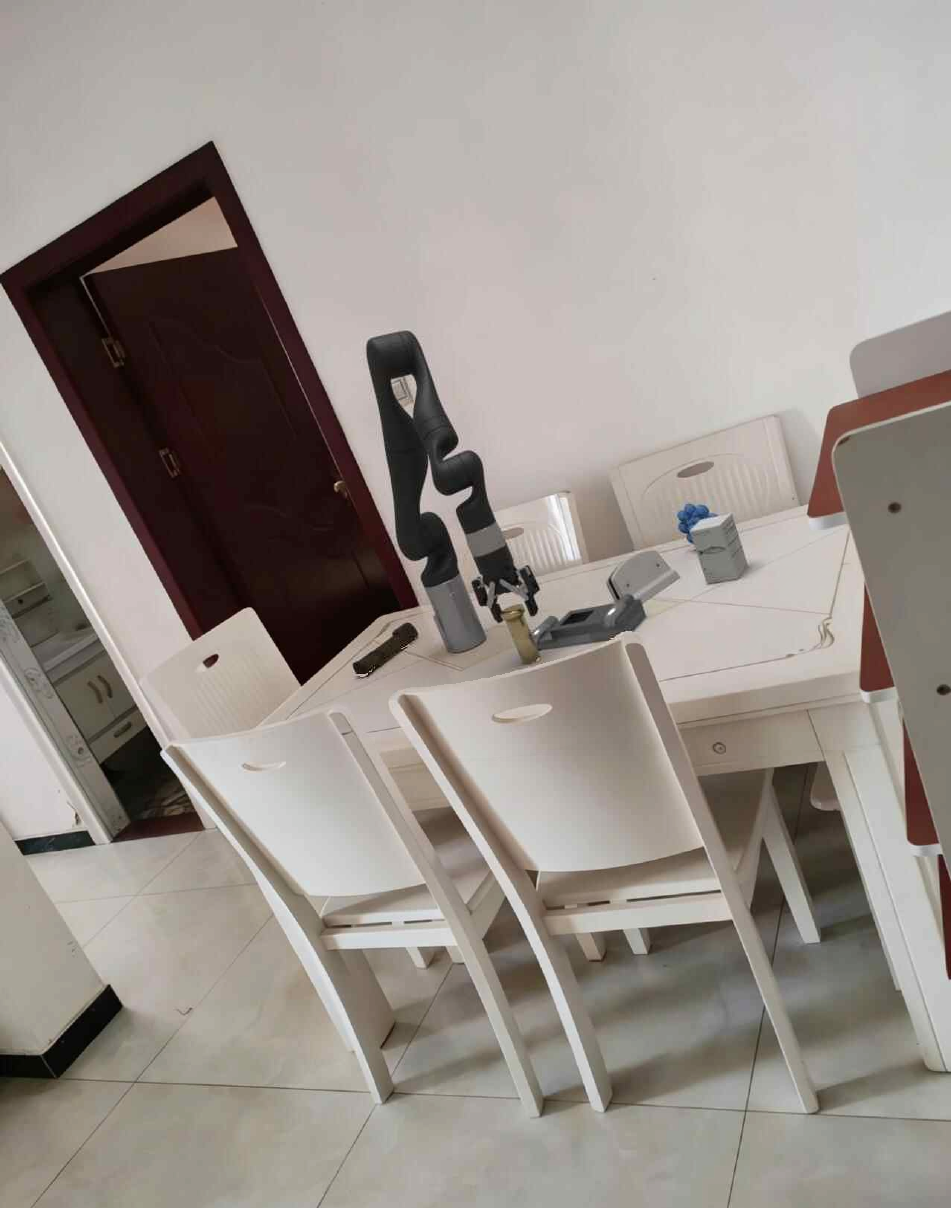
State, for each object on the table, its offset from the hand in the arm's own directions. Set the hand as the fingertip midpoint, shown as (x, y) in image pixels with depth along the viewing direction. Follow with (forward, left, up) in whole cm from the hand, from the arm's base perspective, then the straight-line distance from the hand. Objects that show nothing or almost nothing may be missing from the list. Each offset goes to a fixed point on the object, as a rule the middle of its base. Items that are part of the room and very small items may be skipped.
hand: (517, 618), depth 197 cm
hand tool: (-54, +15, -10) cm, 57 cm away
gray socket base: (+7, +10, -10) cm, 16 cm away
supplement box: (+33, +31, -10) cm, 47 cm away
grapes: (+21, +51, -10) cm, 56 cm away
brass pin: (-1, 0, -10) cm, 10 cm away
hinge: (+14, +29, -10) cm, 34 cm away
